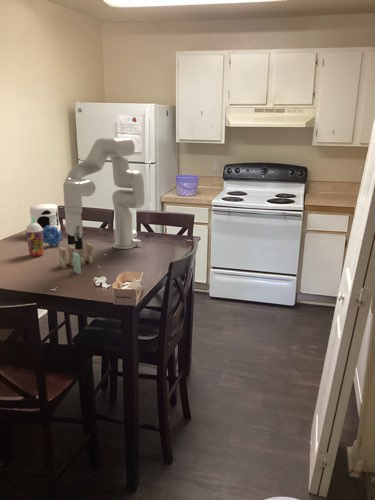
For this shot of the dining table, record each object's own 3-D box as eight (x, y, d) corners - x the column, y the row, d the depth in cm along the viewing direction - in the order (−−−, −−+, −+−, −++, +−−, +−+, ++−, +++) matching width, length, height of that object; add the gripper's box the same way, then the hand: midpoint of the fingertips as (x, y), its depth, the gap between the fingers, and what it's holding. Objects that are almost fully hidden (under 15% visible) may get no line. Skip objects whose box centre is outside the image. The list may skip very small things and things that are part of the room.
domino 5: (89, 260, 219) (88, 242, 217) (93, 262, 215) (92, 245, 213) (86, 260, 218) (85, 243, 216) (90, 263, 214) (89, 245, 212)
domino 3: (77, 270, 204) (76, 252, 201) (81, 273, 200) (79, 255, 197) (74, 271, 203) (72, 252, 200) (77, 274, 199) (76, 255, 196)
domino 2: (72, 263, 214) (71, 245, 212) (75, 265, 210) (74, 248, 208) (69, 263, 214) (67, 245, 211) (72, 266, 210) (71, 248, 207)
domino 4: (81, 261, 217) (80, 244, 214) (84, 264, 213) (83, 246, 210) (77, 262, 216) (76, 244, 213) (81, 264, 212) (80, 247, 209)
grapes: (40, 249, 236) (38, 227, 233) (40, 245, 243) (39, 224, 239) (62, 247, 240) (61, 226, 236) (62, 244, 246) (61, 223, 242)
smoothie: (35, 258, 220) (31, 220, 214) (24, 255, 224) (20, 218, 218) (48, 254, 227) (45, 217, 221) (37, 252, 231) (34, 215, 225)
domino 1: (63, 264, 212) (61, 246, 209) (66, 267, 208) (65, 249, 205) (60, 265, 211) (58, 247, 209) (63, 267, 207) (62, 249, 205)
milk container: (34, 232, 271) (32, 203, 265) (63, 231, 273) (61, 203, 267) (27, 239, 254) (25, 209, 249) (58, 239, 256) (56, 209, 251)
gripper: (58, 207, 198) (61, 243, 202) (71, 213, 184) (73, 252, 188) (74, 205, 202) (76, 241, 206) (88, 212, 188) (90, 250, 192)
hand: (75, 246), depth 197 cm, fingers open, 9 cm apart
